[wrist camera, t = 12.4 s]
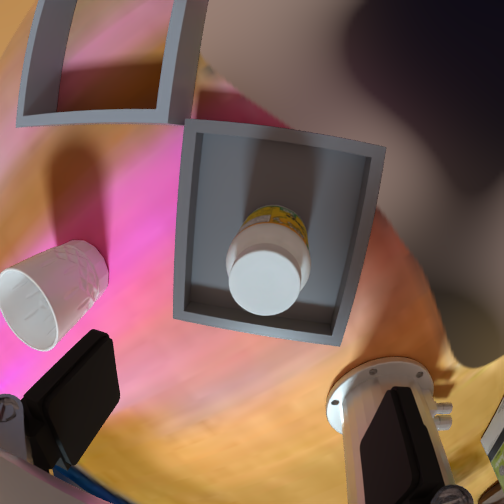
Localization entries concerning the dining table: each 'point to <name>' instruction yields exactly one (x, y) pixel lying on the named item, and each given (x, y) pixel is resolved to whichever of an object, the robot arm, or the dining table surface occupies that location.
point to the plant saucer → (493, 496)
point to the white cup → (52, 292)
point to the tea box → (496, 443)
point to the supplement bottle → (269, 260)
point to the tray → (273, 193)
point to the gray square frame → (166, 113)
